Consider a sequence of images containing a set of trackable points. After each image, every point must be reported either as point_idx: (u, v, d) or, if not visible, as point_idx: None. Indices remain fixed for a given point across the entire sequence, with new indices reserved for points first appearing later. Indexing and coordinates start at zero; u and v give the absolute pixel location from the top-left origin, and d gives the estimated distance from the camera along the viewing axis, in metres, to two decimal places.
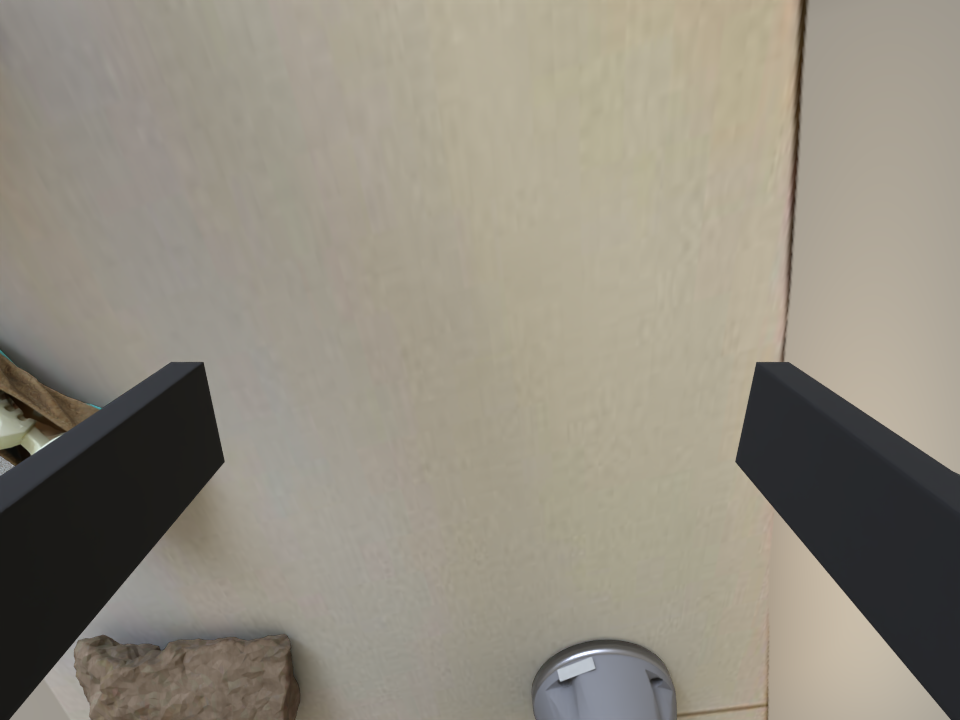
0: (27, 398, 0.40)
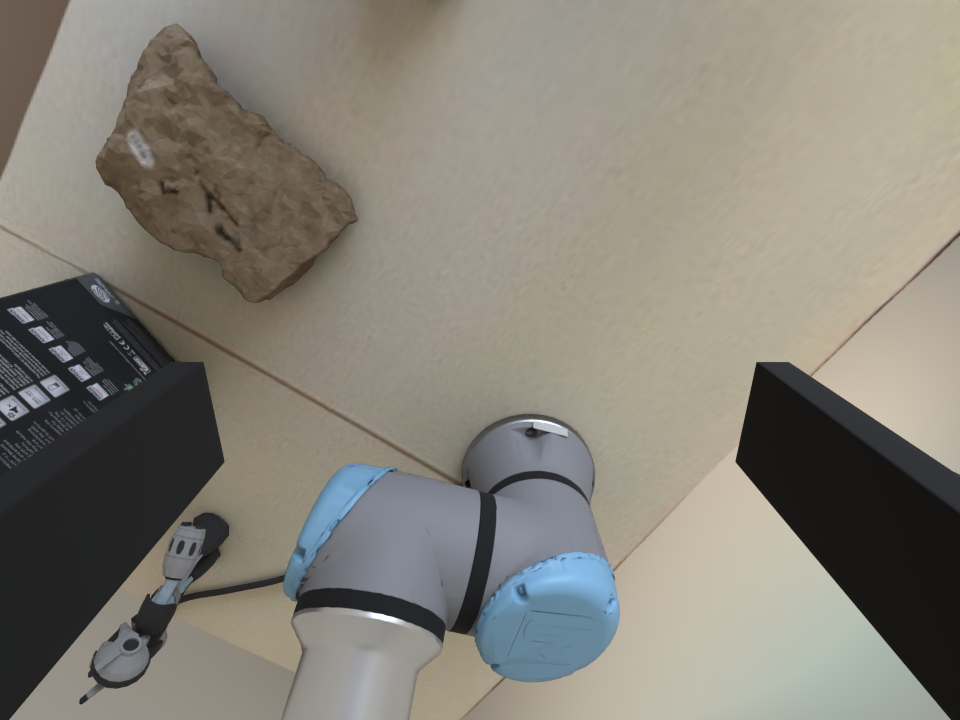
0: None
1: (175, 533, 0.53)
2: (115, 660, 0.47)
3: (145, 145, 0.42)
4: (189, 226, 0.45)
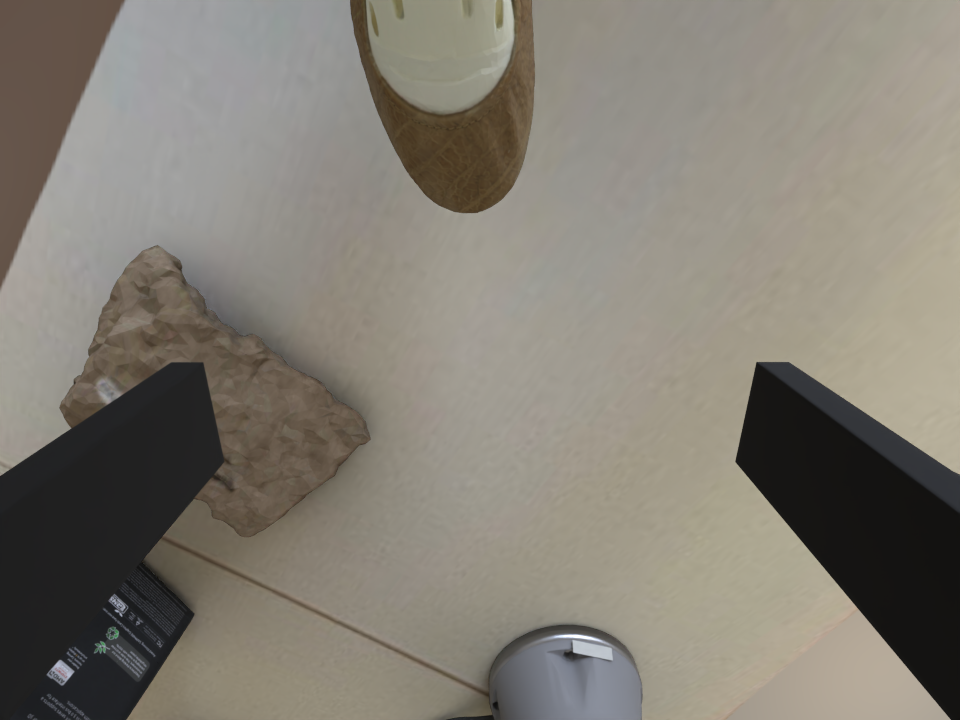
0: None
1: None
2: None
3: (118, 392, 0.35)
4: None
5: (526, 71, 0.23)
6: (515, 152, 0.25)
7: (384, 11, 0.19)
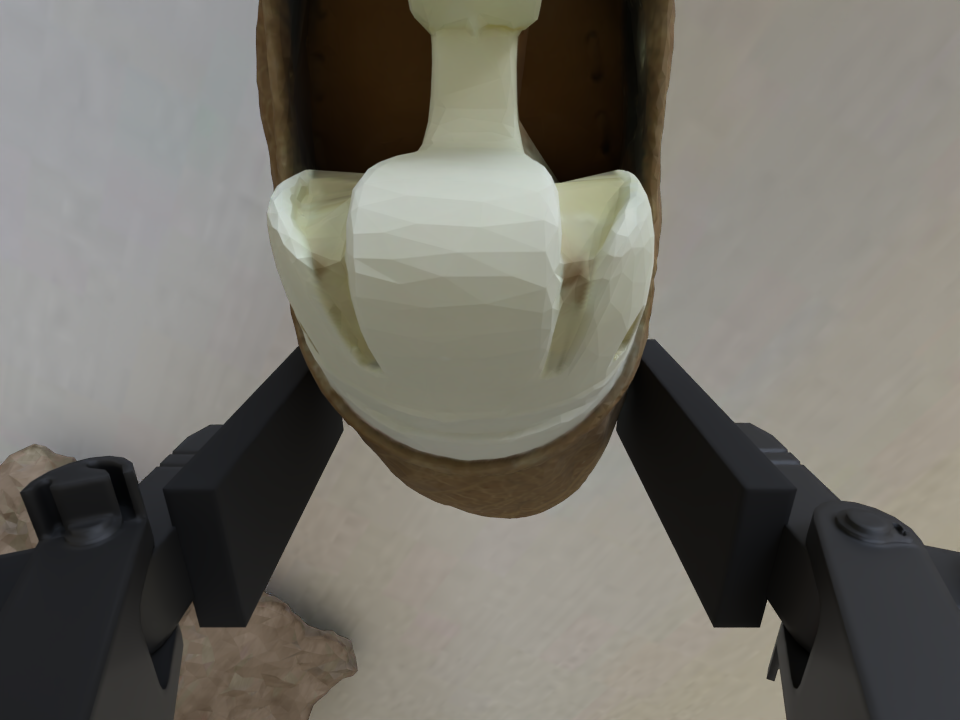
0: None
1: None
2: None
3: None
4: None
5: None
6: (593, 456, 0.13)
7: (327, 345, 0.07)
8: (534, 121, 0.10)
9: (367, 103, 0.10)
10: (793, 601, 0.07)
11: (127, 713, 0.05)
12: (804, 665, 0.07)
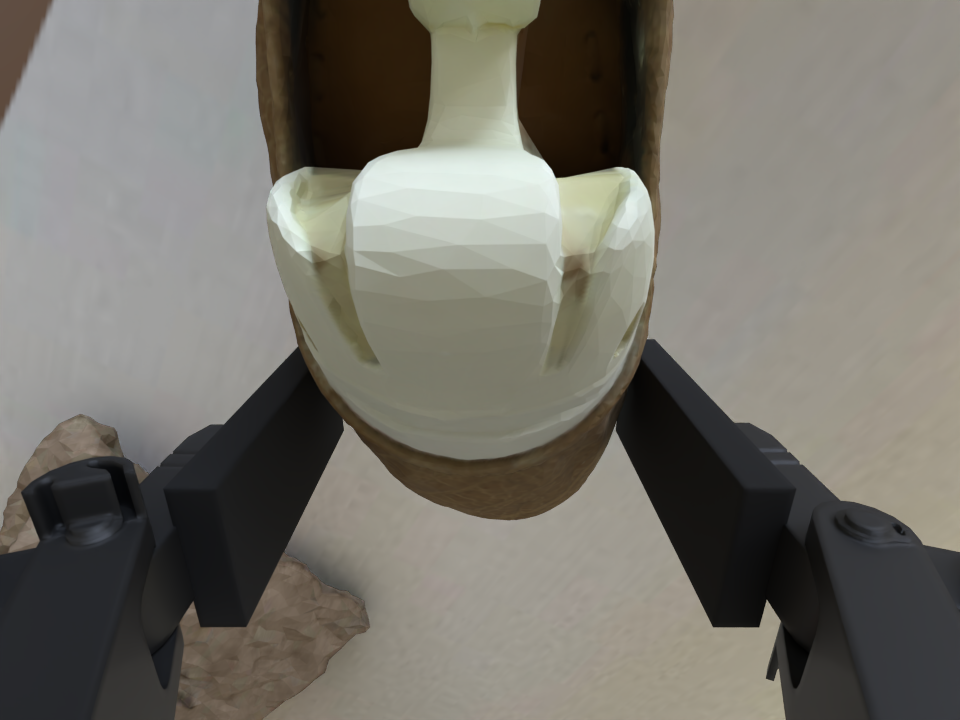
0: None
1: None
2: None
3: None
4: None
5: None
6: (593, 457, 0.13)
7: (326, 342, 0.07)
8: (533, 121, 0.10)
9: (366, 103, 0.10)
10: (792, 601, 0.07)
11: (128, 712, 0.05)
12: (803, 665, 0.07)
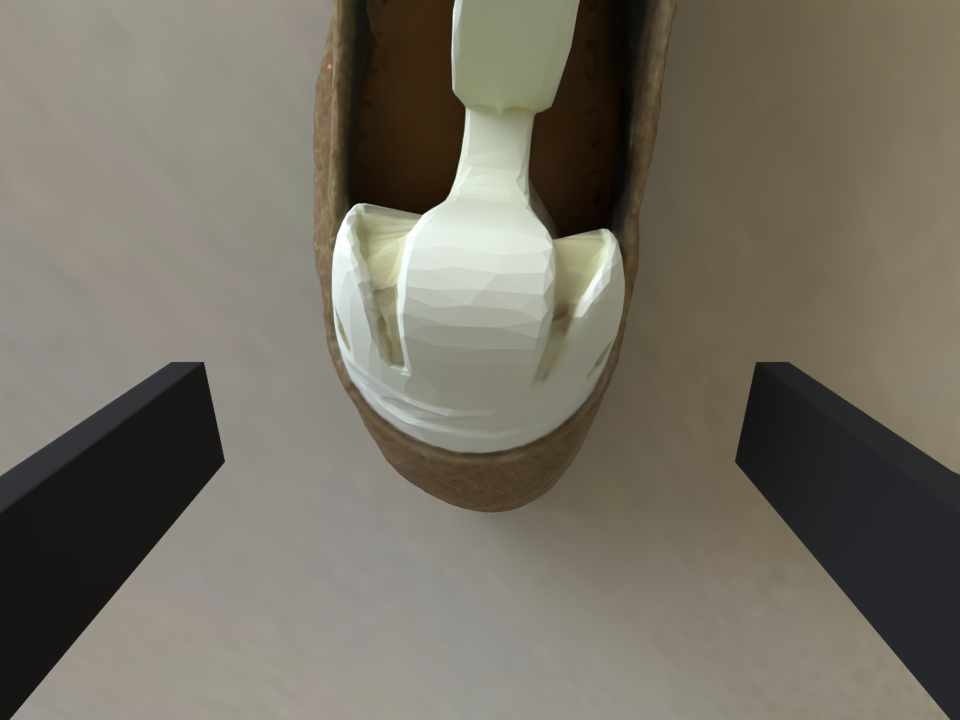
0: (647, 33, 0.10)
1: None
2: None
3: None
4: None
5: None
6: (565, 461, 0.15)
7: (363, 345, 0.09)
8: (540, 173, 0.12)
9: (402, 145, 0.12)
10: None
11: None
12: None
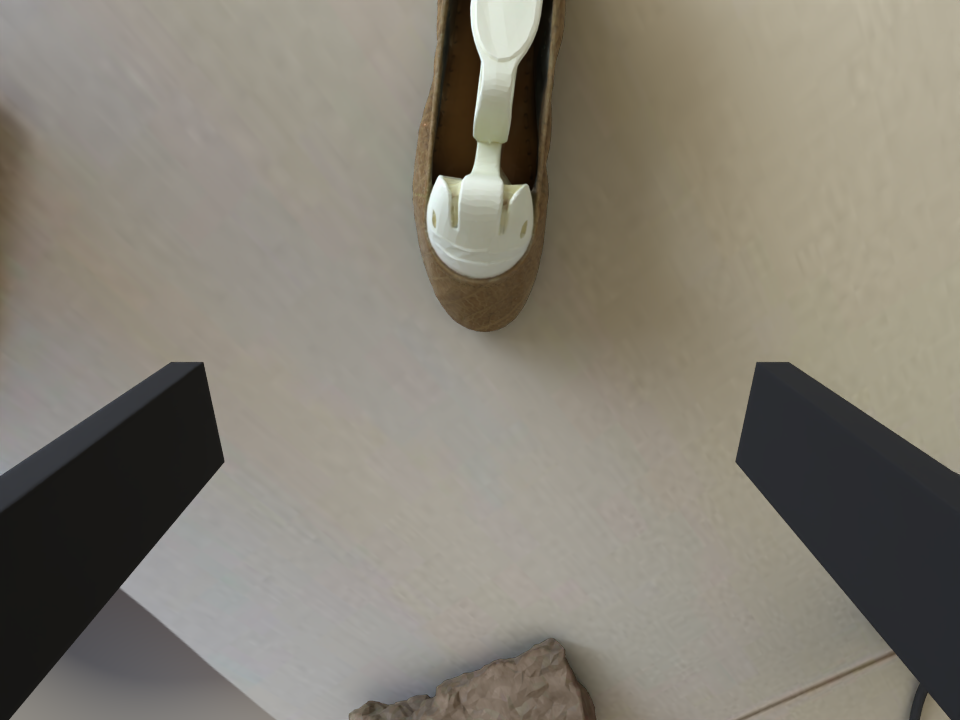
0: (542, 115, 0.27)
1: None
2: None
3: None
4: None
5: (537, 249, 0.31)
6: (521, 298, 0.33)
7: (443, 221, 0.26)
8: (507, 166, 0.30)
9: (450, 154, 0.30)
10: None
11: None
12: None
